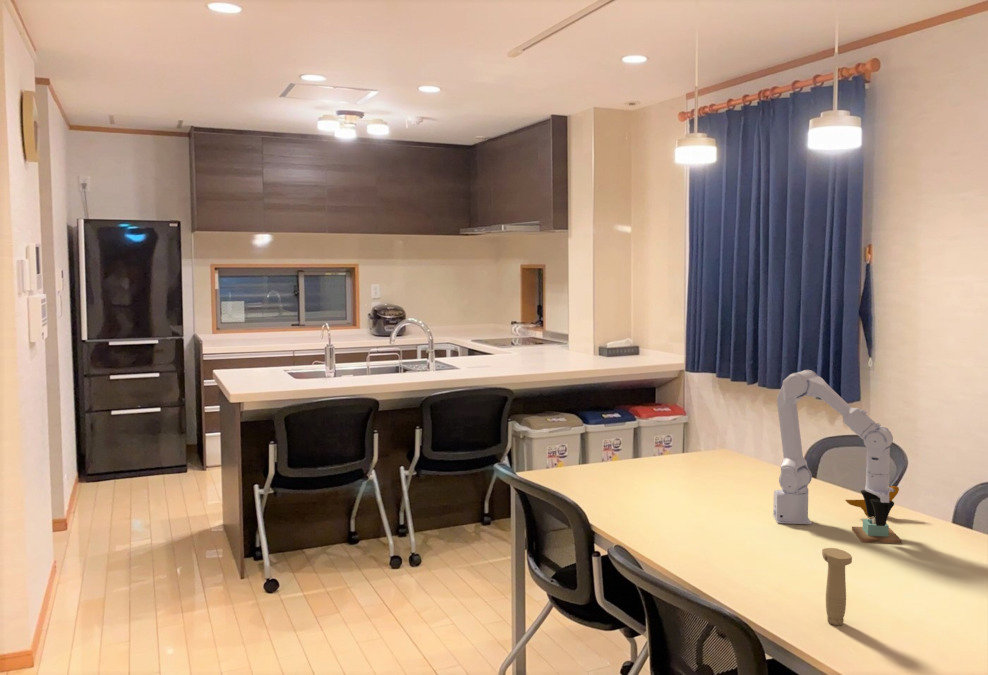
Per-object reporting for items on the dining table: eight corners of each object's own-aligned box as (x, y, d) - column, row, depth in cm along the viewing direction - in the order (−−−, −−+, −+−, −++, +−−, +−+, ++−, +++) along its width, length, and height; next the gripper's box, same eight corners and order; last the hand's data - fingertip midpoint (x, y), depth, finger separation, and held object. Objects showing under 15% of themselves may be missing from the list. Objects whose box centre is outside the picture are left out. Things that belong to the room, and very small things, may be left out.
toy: (909, 506, 236) (895, 476, 236) (860, 529, 237) (846, 499, 236) (904, 503, 239) (890, 474, 238) (856, 526, 240) (842, 497, 239)
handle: (834, 630, 165) (835, 559, 163) (815, 617, 171) (817, 549, 170) (855, 628, 165) (857, 557, 164) (836, 615, 172) (838, 547, 170)
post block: (861, 542, 216) (862, 523, 216) (851, 529, 226) (852, 512, 225) (901, 543, 214) (902, 525, 214) (889, 531, 224) (890, 513, 224)
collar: (867, 535, 218) (868, 524, 218) (862, 529, 223) (862, 519, 223) (888, 536, 217) (888, 525, 217) (882, 530, 222) (882, 519, 222)
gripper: (902, 479, 211) (900, 530, 212) (885, 466, 225) (883, 513, 226) (873, 478, 212) (872, 529, 213) (858, 465, 226) (857, 512, 227)
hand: (876, 520), depth 220 cm, fingers open, 7 cm apart
